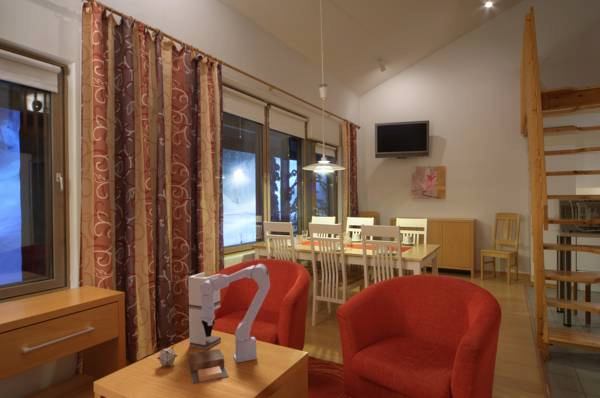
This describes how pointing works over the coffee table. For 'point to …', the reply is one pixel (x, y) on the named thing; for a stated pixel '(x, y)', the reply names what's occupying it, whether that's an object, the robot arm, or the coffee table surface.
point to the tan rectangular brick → (209, 373)
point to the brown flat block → (205, 360)
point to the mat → (196, 379)
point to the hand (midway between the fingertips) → (208, 336)
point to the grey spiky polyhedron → (167, 357)
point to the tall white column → (195, 325)
